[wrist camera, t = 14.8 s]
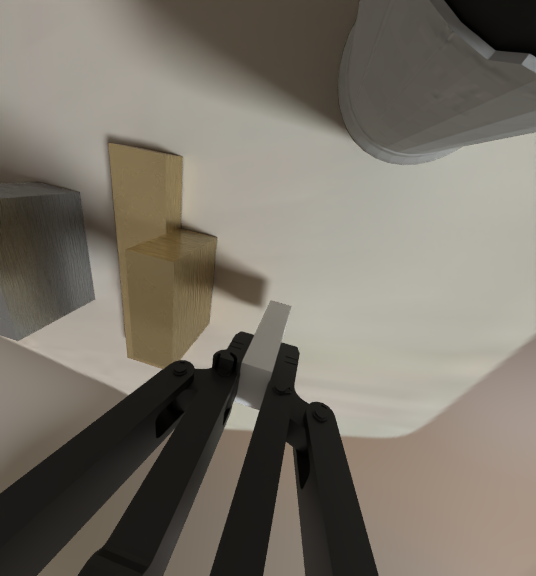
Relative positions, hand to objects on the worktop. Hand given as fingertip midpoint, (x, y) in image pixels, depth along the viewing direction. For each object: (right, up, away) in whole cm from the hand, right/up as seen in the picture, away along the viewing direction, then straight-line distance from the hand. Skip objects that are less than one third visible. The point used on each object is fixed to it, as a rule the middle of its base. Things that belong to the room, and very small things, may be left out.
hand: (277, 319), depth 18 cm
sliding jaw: (-9, +3, +3) cm, 10 cm away
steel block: (-19, +6, +5) cm, 20 cm away
